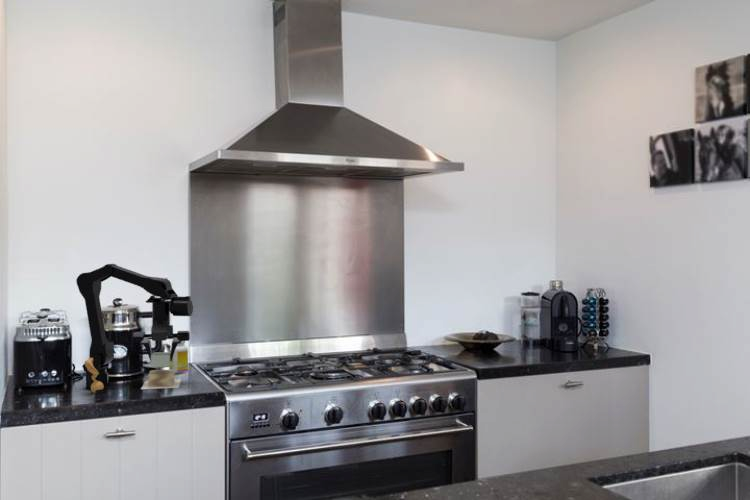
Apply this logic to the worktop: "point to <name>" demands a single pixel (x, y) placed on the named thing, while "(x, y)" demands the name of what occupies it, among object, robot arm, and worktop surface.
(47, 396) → the worktop surface
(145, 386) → the baseplate
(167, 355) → the sage brick
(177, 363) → the supplement bottle
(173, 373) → the wood brick
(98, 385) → the figurine
